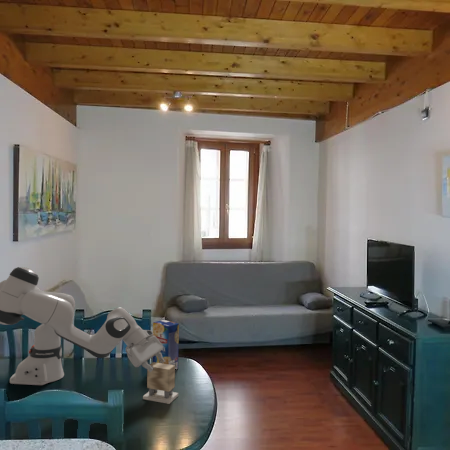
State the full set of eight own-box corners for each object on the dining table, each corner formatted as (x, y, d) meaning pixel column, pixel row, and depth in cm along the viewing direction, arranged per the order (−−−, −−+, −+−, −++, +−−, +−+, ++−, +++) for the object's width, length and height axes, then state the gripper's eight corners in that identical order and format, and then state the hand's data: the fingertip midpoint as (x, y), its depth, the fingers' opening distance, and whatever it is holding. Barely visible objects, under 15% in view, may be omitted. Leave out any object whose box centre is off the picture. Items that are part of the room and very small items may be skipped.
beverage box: (162, 363, 215) (163, 319, 214) (178, 368, 208) (178, 323, 208) (152, 366, 210) (152, 322, 209) (168, 372, 203) (168, 326, 202)
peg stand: (142, 399, 175) (143, 388, 174) (152, 391, 182) (152, 381, 182) (169, 403, 171) (169, 393, 170) (178, 395, 178) (178, 385, 178)
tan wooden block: (147, 387, 175) (147, 366, 175) (153, 383, 180) (153, 362, 180) (169, 391, 172) (169, 369, 172) (174, 386, 177) (174, 365, 176)
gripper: (128, 343, 169) (150, 371, 167) (153, 329, 189) (173, 354, 186) (118, 352, 171) (140, 380, 168) (144, 338, 190) (164, 362, 188)
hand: (157, 366), depth 177 cm, fingers open, 8 cm apart
